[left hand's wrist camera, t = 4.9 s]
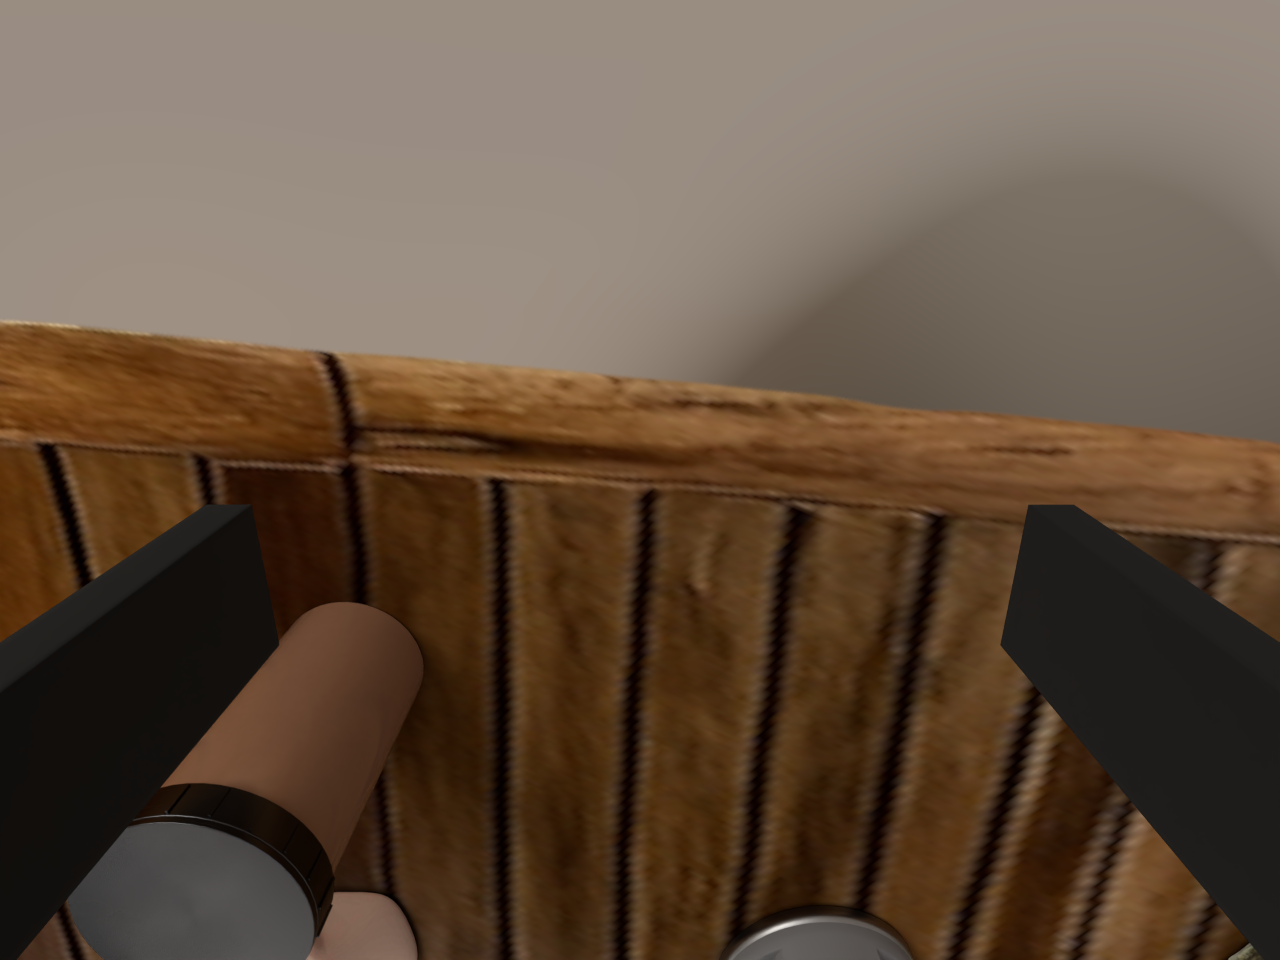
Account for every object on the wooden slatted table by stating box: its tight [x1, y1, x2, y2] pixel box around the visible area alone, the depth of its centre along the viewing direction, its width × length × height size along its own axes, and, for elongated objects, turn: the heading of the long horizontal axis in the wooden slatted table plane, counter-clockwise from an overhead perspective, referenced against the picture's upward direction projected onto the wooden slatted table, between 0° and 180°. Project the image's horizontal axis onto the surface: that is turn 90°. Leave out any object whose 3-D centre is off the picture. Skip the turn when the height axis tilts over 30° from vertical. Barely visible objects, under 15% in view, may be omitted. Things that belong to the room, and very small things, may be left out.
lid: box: [68, 783, 335, 960], centre depth 30 cm, size 10×10×2 cm
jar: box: [160, 602, 424, 875], centre depth 38 cm, size 9×9×17 cm
